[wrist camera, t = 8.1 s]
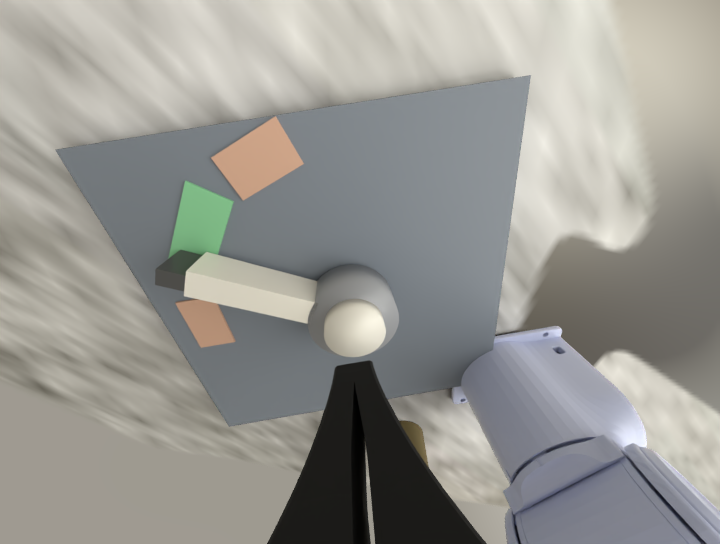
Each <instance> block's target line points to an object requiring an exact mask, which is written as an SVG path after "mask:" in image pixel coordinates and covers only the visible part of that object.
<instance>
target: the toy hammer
mask: <svg viewBox="0 0 720 544" xmlns="http://www.w3.org/2000/svg"><path fill="white" fill-rule="evenodd" d="M155 285H157V286H162V287H166V288H171V289H175V290H179V291H184V296H186V297H190V298H195V299H199V300H203V301H208V302H212V303H217V304H221V305H226V306H230V307H235V308H239V309H244V310H248V311H253V312H257V313H262V314H266V315H271V316H275V317H280V318H284V319H289V320H293V321H297V322H302V323H306V324H308V329H309V333H310V335H311V337H312V339H313V340H314V342H315V343H316V344H317V345H318V346H319V347H321V348H322V349H323V350H325V351H327V352H329V353H331V354H334V355H338V356H343V357H361V356H364V355H367V354H370V353H373V352H375V351H377V350H379V349H380V348H382V347H383V346H385V345H386V344H387V343H388V342H389V341H390V340H391V339H392V337H393V336H394V334H395V333H396V330H397V328H398V324H399V313H398V309H397V306H396V304H395V301H394V298H393V295H392V293H391V290H390V287H389V285H388V283H387V281H386V280H385V278H384V277H383V276H382V275H381V274H380V273H378V272H377V271H375V270H374V269H372V268H369V267H366V266H362V265H355V264H352V265H343V266H339V267H336V268H333V269H331V270H330V271H328V272H326V273H325V274H324V275H322V276H321V277H320V278H319V280H318V281H315V280H311V279H307V278H304V277H300V276H296V275H292V274H288V273H285V272H281V271H277V270H273V269H270V268H266V267H262V266H258V265H254V264H251V263H247V262H243V261H239V260H236V259H232V258H228V257H224V256H220V255H217V254H213V253H209V252H206V253H205V254H204V255H200V254H196V253H192V252H188V251H184V250H179V251H178V252H177V253H175V254H174V255H173V256H171V257H170V258H169V259H167V260H166V261H165V262H164V263H162V264H161V265H160V266H158V267H157V268H156V269H155Z"/></svg>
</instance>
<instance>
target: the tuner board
mask: <svg viewBox="0 0 720 544" xmlns="http://www.w3.org/2000/svg"><path fill="white" fill-rule="evenodd" d="M530 77H531V75H529V76H523V77H516V78H510V79H504V80H497V81H491V82H484V83H478V84H472V85H465V86H459V87H453V88H446V89H440V90H433V91H427V92H421V93H414V94H408V95H402V96H395V97H389V98H382V99H376V100H370V101H363V102H357V103H350V104H344V105H338V106H331V107H325V108H319V109H312V110H306V111H299V112H293V113H287V114H280V115H274V116H268V117H261V118H255V119H248V120H242V121H236V122H229V123H223V124H216V125H210V126H204V127H197V128H191V129H185V130H178V131H172V132H165V133H159V134H153V135H146V136H140V137H133V138H127V139H121V140H114V141H108V142H102V143H95V144H89V145H82V146H76V147H70V148H63V149H57V150H56V152H57V153H58V155H59V157H60V158H61V160H62V161H63V163H64V165H65V166H66V168H67V169H68V171H69V173H70V174H71V176H72V177H73V179H74V181H75V182H76V184H77V185H78V187H79V188H80V190H81V192H82V193H83V195H84V196H85V198H86V200H87V201H88V203H89V204H90V206H91V208H92V209H93V211H94V212H95V214H96V216H97V217H98V219H99V220H100V222H101V224H102V225H103V227H104V228H105V230H106V231H107V233H108V235H109V236H110V238H111V239H112V241H113V243H114V244H115V246H116V247H117V249H118V251H119V252H120V254H121V255H122V257H123V259H124V260H125V262H126V263H127V265H128V266H129V268H130V270H131V271H132V273H133V274H134V276H135V278H136V279H137V281H138V282H139V284H140V286H141V287H142V289H143V290H144V292H145V294H146V295H147V297H148V298H149V300H150V302H151V303H152V305H153V306H154V308H155V309H156V311H157V313H158V314H159V316H160V317H161V319H162V321H163V322H164V324H165V325H166V327H167V329H168V330H169V332H170V333H171V335H172V337H173V338H174V340H175V341H176V343H177V345H178V346H179V348H180V349H181V351H182V352H183V354H184V356H185V357H186V359H187V360H188V362H189V364H190V365H191V367H192V368H193V370H194V372H195V373H196V375H197V376H198V378H199V380H200V381H201V383H202V384H203V386H204V388H205V389H206V391H207V392H208V394H209V395H210V397H211V399H212V400H213V402H214V403H215V405H216V407H217V408H218V410H219V411H220V413H221V415H222V416H223V418H224V419H225V421H226V423H227V424H228V426H235V425H241V424H246V423H252V422H258V421H264V420H269V419H275V418H281V417H287V416H292V415H298V414H304V413H310V412H315V411H321V410H325V407H326V404H327V400H328V397H329V393H330V389H331V385H332V381H333V376H334V370H335V367H336V366H338V365H344V364H350V363H356V362H361V361H367V360H370V361H372V362H373V366H374V369H375V372H376V375H377V378H378V380H379V383H380V385H381V387H382V389H383V392H384V394H385V396H386V398H387V399H390V398H396V397H402V396H408V395H413V394H419V393H425V392H431V391H436V390H442V389H448V388H454V387H459V386H461V380H462V376H463V374H464V372H465V371H466V369H467V368H468V366H469V365H470V364H471V363H472V362H473V361H475V360H476V359H477V358H479V357H480V356H482V355H483V354H485V353H487V352H489V351H492V350H493V346H494V338H495V331H496V324H497V317H498V309H499V302H500V295H501V288H502V280H503V273H504V266H505V259H506V251H507V244H508V237H509V230H510V222H511V215H512V208H513V200H514V193H515V186H516V179H517V171H518V164H519V157H520V150H521V142H522V135H523V128H524V121H525V113H526V106H527V99H528V92H529V84H530ZM179 250H184V251H188V252H192V253H196V254H200V255H204V254H205V253H206V252H209V253H213V254H217V255H220V256H224V257H228V258H232V259H236V260H239V261H243V262H247V263H251V264H254V265H258V266H262V267H266V268H270V269H273V270H277V271H281V272H285V273H288V274H292V275H296V276H300V277H304V278H307V279H311V280H315V281H318V280H319V278H320V277H321V276H322V275H324V274H325V273H326V272H328V271H330V270H331V269H333V268H336V267H339V266H343V265H352V264H355V265H362V266H366V267H369V268H372V269H374V270H375V271H377V272H378V273H380V274H381V275H382V276H383V277H384V278H385V280H386V281H387V283H388V285H389V287H390V290H391V293H392V295H393V298H394V301H395V304H396V306H397V309H398V313H399V324H398V328H397V330H396V333H395V334H394V336H393V337H392V339H391V340H390V341H389V342H388V343H387V344H386V345H385V346H383V347H382V348H380V349H379V350H377V351H375V352H373V353H370V354H367V355H364V356H361V357H343V356H338V355H334V354H331V353H329V352H327V351H325V350H323V349H322V348H321V347H319V346H318V345H317V344H316V343H315V342H314V340H313V339H312V337H311V335H310V333H309V329H308V324H306V323H302V322H297V321H293V320H289V319H284V318H280V317H275V316H271V315H266V314H262V313H257V312H253V311H248V310H244V309H239V308H235V307H230V306H226V305H221V304H217V303H212V302H208V301H203V300H199V299H195V298H190V297H186V296H184V291H179V290H175V289H171V288H166V287H162V286H157V285H155V269H156V268H157V267H158V266H160V265H161V264H162V263H164V262H165V261H166V260H167V259H169V258H170V257H171V256H173V255H174V254H175V253H177V252H178V251H179Z"/></svg>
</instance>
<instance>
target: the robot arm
mask: <svg viewBox="0 0 720 544" xmlns="http://www.w3.org/2000/svg"><path fill="white" fill-rule="evenodd" d="M561 333H562V329H561V328H560V327H558V326H552V327H546V328H541V329H534V330H528V331H522V332H517V333H511V334H505V335H499V336H495V338H494V346H493V350H492V351H489V352H487V353H485V354H483V355H482V356H480V357H479V358H477V359H476V360H475V361H473V362H472V363H471V364H470V365H469V366H468V368H467V369H466V371H465V372H464V374H463V376H462V380H461V386H459V387H454V388H452V401H453V403H454V404H460V403H466V402H469V404H470V406H471V408H472V410H473V412H474V414H475V416H476V418H477V420H478V422H479V424H480V426H481V428H482V430H483V432H484V434H485V436H486V438H487V440H488V442H489V444H490V446H491V448H492V450H493V452H494V454H495V456H496V458H497V460H498V462H499V464H500V466H501V468H502V470H503V472H504V474H505V476H506V478H507V480H508V482H509V484H510V486H509V487H508V488H507V489H505V490H504V491H503V493H504V495H505V497H506V499H507V501H508V503H509V505H510V509H508V511H507V513H506V516H505V529H506V539H507V544H720V511H719V510H718V509H717V508H716V507H715V506H714V505H713V504H712V503H711V502H710V501H709V500H708V499H707V498H706V497H705V496H704V495H703V494H701V493H700V492H699V491H698V490H697V489H696V488H695V487H694V486H693V485H692V484H691V483H690V482H689V481H688V480H687V479H686V478H685V477H683V476H682V475H681V474H680V473H679V472H678V471H677V470H676V469H675V468H674V467H673V466H672V465H670V464H669V463H668V462H667V461H666V460H665V459H664V458H663V457H661V456H660V455H659V454H658V453H657V452H655V451H654V450H652V449H648V448H646V445H647V438H646V432H645V428H644V425H643V423H642V421H641V419H640V417H639V415H638V413H637V412H636V410H635V409H634V407H633V406H632V404H631V403H630V402H629V400H628V399H627V398H626V397H625V396H624V394H623V393H622V392H621V391H620V390H619V389H618V388H617V387H616V386H614V385H613V384H612V383H611V382H610V381H609V380H608V379H607V378H605V377H604V376H603V375H602V374H601V373H600V372H599V371H598V370H597V369H595V368H594V367H593V366H592V365H591V364H590V363H589V362H588V361H587V360H585V359H584V358H583V357H582V356H581V355H580V354H579V353H578V352H577V351H575V350H574V349H573V348H572V347H571V346H570V345H569V344H568V343H566V342H565V341H564V340H563V339H562V338H561ZM365 441H366V448H367V455H368V466H369V477H370V487H371V499H372V510H373V522H374V533H375V544H486V542H485V541H484V540H483V539H482V537H481V536H480V535H479V534H478V533H477V531H476V530H475V529H474V528H473V526H472V525H471V524H470V522H469V521H468V520H467V518H466V517H465V516H464V515H463V513H462V512H461V511H460V510H459V508H458V507H457V506H456V504H455V503H454V502H453V500H452V499H451V498H450V497H449V495H448V494H447V493H446V491H445V490H444V489H443V487H442V486H441V484H440V483H439V482H438V480H437V479H436V477H435V476H434V475H433V473H432V472H431V470H430V469H429V467H428V466H427V465H426V463H425V462H424V460H423V459H422V457H421V456H420V454H419V453H418V451H417V450H416V448H415V447H414V445H413V443H412V442H411V440H410V439H409V437H408V435H407V434H406V432H405V430H404V429H403V427H402V425H401V424H400V422H399V420H398V418H397V417H396V415H395V413H394V411H393V409H392V407H391V405H390V404H389V402H388V400H387V398H386V396H385V394H384V392H383V389H382V387H381V385H380V383H379V380H378V378H377V375H376V372H375V369H374V366H373V362H372V361H370V360H367V361H361V362H356V363H350V364H344V365H338V366H336V367H335V370H334V376H333V381H332V385H331V389H330V393H329V397H328V400H327V404H326V407H325V410H324V413H323V416H322V420H321V423H320V426H319V429H318V431H317V434H316V437H315V439H314V442H313V445H312V447H311V450H310V453H309V455H308V458H307V460H306V463H305V465H304V467H303V470H302V472H301V475H300V477H299V479H298V481H297V484H296V486H295V488H294V490H293V492H292V495H291V497H290V499H289V501H288V503H287V505H286V507H285V509H284V511H283V513H282V515H281V517H280V519H279V522H278V524H277V526H276V527H275V529H274V531H273V534H272V535H271V537H270V539H269V541H268V543H267V544H371V542H370V533H369V523H368V512H367V493H366V462H365Z"/></svg>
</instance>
